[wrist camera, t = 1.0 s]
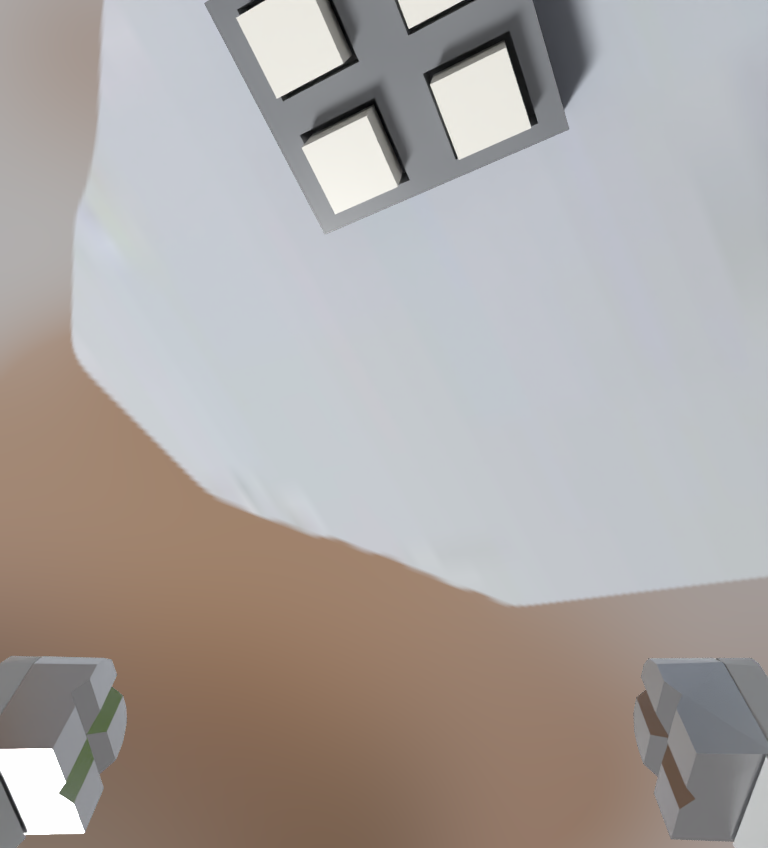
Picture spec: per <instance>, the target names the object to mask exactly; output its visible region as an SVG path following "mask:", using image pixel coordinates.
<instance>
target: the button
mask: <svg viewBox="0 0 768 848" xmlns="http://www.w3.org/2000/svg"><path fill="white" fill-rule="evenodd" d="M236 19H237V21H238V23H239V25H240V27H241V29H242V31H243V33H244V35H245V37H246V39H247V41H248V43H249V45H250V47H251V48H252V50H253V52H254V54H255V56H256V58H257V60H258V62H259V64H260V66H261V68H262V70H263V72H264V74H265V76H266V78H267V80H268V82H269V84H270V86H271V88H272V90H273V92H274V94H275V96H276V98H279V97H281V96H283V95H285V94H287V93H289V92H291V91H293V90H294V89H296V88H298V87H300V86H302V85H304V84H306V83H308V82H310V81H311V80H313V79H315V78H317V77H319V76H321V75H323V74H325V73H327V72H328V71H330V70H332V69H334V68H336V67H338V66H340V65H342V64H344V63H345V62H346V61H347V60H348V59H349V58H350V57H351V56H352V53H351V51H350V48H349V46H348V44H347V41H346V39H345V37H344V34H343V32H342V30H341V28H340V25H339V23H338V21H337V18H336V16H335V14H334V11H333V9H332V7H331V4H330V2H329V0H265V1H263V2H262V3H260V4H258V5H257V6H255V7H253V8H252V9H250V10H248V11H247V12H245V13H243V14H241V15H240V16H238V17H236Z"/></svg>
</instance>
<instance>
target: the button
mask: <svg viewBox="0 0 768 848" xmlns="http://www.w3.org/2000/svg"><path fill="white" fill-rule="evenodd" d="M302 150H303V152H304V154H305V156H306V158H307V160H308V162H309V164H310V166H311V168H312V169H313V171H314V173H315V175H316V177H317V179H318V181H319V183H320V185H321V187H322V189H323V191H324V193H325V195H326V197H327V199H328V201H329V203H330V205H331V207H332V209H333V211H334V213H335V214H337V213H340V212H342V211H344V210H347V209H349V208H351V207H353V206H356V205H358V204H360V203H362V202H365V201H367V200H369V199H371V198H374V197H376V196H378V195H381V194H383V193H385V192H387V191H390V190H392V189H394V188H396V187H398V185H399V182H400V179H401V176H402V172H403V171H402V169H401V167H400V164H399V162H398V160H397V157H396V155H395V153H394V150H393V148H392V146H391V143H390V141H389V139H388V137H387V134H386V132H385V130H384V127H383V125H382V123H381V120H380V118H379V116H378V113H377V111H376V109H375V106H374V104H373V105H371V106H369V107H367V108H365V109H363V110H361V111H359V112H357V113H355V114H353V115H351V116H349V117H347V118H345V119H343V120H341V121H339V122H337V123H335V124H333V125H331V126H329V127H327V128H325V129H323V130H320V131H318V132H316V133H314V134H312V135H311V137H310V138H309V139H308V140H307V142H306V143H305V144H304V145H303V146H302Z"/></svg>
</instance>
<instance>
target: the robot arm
mask: <svg viewBox="0 0 768 848" xmlns="http://www.w3.org/2000/svg"><path fill="white" fill-rule="evenodd" d="M116 676H117V674H116V671H115V668H114V665H113V663H112V660H111V659H106V658H81V657H48V656H43V657H30V656H29V657H28V656H10V657H9V658H7V659H6V660H4V661H3V662H1V663H0V848H16V847H17V846H18V845H19V844H20V843H21V842H22V841H23V840H24V839H25V838H26V836H25V834H58V833H60V834H61V833H85V831H86V828H87V826H88V824H89V821H90V819H91V817H92V814H93V812H94V810H95V807H96V805H97V803H98V800H99V798H100V796H101V794H102V791H103V784H102V781H101V778H100V775H99V774H100V773H101V772H102V771H104V770H105V769H106V768H107V767H108V766H109V765H110V764H112V763H113V762H114V761H115V760H116V758H117V755H118V753H119V751H120V748H121V745H122V743H123V739H124V734H125V728H126V723H127V717H126V705H125V701H124V697H123V695H122V694H120V693H119V692H118V691H117V690H115V689H114V688H113V687H112V684H113V682H114V680H115V678H116ZM641 678H642V680H643V683H644V685H645V688H646V690H645V691H644V692H643V693H641V694H640V695H639V696H638V697H637V698H636V703H635V708H634V732H635V737H636V741H637V746H638V749H639V752H640V755H641V758H642V761H643V764H644V765H645V766H647V767H648V768H649V769H650V770H651V771H652V772H653V773H654V774H656V775H657V777H658V779H657V783H656V787H655V791H654V794H655V797H656V800H657V803H658V805H659V808H660V811H661V813H662V816H663V819H664V822H665V824H666V827H667V830H668V833H669V835H670V838H671V839H681V840H705V841H733V842H734V843H733V846H734V847H735V848H768V677H767V675H766V674H765V672H764V671H763V669H762V668H761V666H760V664H759V663H757V662H756V661H755V660H754V659H752V658H717V659H714V658H659V659H658V658H657V659H648V660H647V661H646V663H645V664H644V666H643V671H642V675H641Z"/></svg>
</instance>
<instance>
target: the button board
mask: <svg viewBox="0 0 768 848" xmlns="http://www.w3.org/2000/svg"><path fill="white" fill-rule="evenodd" d="M263 1H265V0H209V1H207V2H206V3H204V4H205V6H206V8H207V9H208V11H209V13H210V15H211V17H212V19H213V21H214V23H215V25H216V27H217V29H218V31H219V32H220V34H221V36H222V38H223V40H224V42H225V44H226V46H227V48H228V50H229V52H230V54H231V55H232V57H233V59H234V61H235V63H236V65H237V67H238V69H239V71H240V73H241V75H242V77H243V78H244V80H245V82H246V84H247V86H248V88H249V90H250V92H251V94H252V96H253V98H254V100H255V101H256V103H257V105H258V107H259V109H260V111H261V113H262V115H263V117H264V119H265V121H266V123H267V124H268V126H269V128H270V130H271V132H272V134H273V136H274V138H275V140H276V142H277V144H278V146H279V147H280V149H281V151H282V153H283V155H284V157H285V159H286V161H287V163H288V165H289V167H290V169H291V170H292V172H293V174H294V176H295V178H296V180H297V182H298V184H299V186H300V188H301V190H302V192H303V193H304V195H305V197H306V199H307V201H308V203H309V205H310V207H311V209H312V211H313V213H314V215H315V216H316V218H317V220H318V222H319V224H320V226H321V228H322V230H323V232H324V234H328V233H330V232H332V231H335V230H337V229H339V228H342V227H344V226H346V225H349V224H351V223H353V222H356V221H358V220H360V219H363V218H365V217H367V216H370V215H372V214H374V213H377V212H379V211H381V210H383V209H386V208H388V207H390V206H393V205H395V204H397V203H400V202H402V201H404V200H407V199H409V198H411V197H414V196H416V195H418V194H421V193H423V192H425V191H428V190H430V189H432V188H434V187H437V186H439V185H441V184H444V183H446V182H448V181H451V180H453V179H455V178H458V177H460V176H462V175H465V174H467V173H469V172H472V171H474V170H476V169H479V168H481V167H483V166H485V165H488V164H490V163H492V162H495V161H497V160H499V159H502V158H504V157H506V156H509V155H511V154H513V153H516V152H518V151H520V150H523V149H525V148H527V147H530V146H532V145H534V144H537V143H539V142H541V141H543V140H546V139H548V138H550V137H553V136H555V135H557V134H560V133H562V132H564V131H567V130H569V126H568V123H567V119H566V116H565V112H564V109H563V105H562V102H561V98H560V95H559V91H558V88H557V84H556V81H555V77H554V74H553V70H552V67H551V63H550V60H549V56H548V53H547V49H546V46H545V42H544V39H543V35H542V32H541V28H540V25H539V21H538V18H537V14H536V11H535V7H534V4H533V0H463V1H461V2H459V3H457V4H455V5H453V6H452V7H450V8H448V9H446V10H444V11H442V12H440V13H438V14H436V15H435V16H433V17H431V18H429V19H427V20H425V21H423V22H421V23H419V24H417V25H416V26H414V27H412V28H410V29H409V28H408V26H407V23H406V20H405V18H404V15H403V12H402V10H401V7H400V5H399V2H398V0H329V2H330V4H331V7H332V9H333V11H334V14H335V16H336V18H337V21H338V23H339V25H340V28H341V30H342V32H343V34H344V37H345V39H346V41H347V44H348V46H349V48H350V51H351V53H352V56H351V57H350V58H349V59H348V60H347V61H346V62H345V63H344V64H342V65H340V66H338V67H336V68H334V69H332V70H330V71H328V72H327V73H325V74H323V75H321V76H319V77H317V78H315V79H313V80H311V81H310V82H308V83H306V84H304V85H302V86H300V87H298V88H296V89H294V90H293V91H291V92H289V93H287V94H285V95H283V96H281V97H279V98H276V96H275V94H274V92H273V90H272V88H271V86H270V84H269V82H268V80H267V78H266V76H265V74H264V72H263V70H262V68H261V66H260V64H259V62H258V60H257V58H256V56H255V54H254V52H253V50H252V48H251V47H250V45H249V43H248V41H247V39H246V37H245V35H244V33H243V31H242V29H241V27H240V25H239V23H238V21H237V19H236V17H238V16H240V15H241V14H243V13H245V12H247V11H248V10H250V9H252V8H253V7H255V6H257V5H258V4H260V3H262V2H263ZM502 40H505V44H506V47H507V50H508V53H509V56H510V60H511V63H512V66H513V69H514V72H515V75H516V79H517V82H518V85H519V88H520V91H521V95H522V98H523V101H524V104H525V107H526V110H527V114H528V117H529V121H530V125H531V128H530V129H528V130H526V131H524V132H521V133H519V134H517V135H514V136H512V137H510V138H508V139H505V140H503V141H501V142H499V143H496V144H494V145H492V146H489V147H487V148H485V149H483V150H480V151H478V152H476V153H474V154H471V155H469V156H467V157H465V158H462V159H460V160H459V159H458V157H457V154H456V151H455V149H454V146H453V143H452V141H451V138H450V136H449V133H448V130H447V128H446V125H445V123H444V120H443V117H442V115H441V112H440V109H439V107H438V104H437V102H436V99H435V96H434V94H433V91H432V88H431V86H430V83H431V80H432V77H433V75H434V74H436V73H438V72H440V71H442V70H444V69H446V68H448V67H450V66H452V65H454V64H456V63H458V62H460V61H462V60H464V59H466V58H468V57H470V56H472V55H474V54H476V53H478V52H480V51H482V50H484V49H486V48H488V47H490V46H492V45H494V44H496V43H498V42H500V41H502ZM373 104H374V106H375V109H376V111H377V113H378V116H379V118H380V120H381V123H382V125H383V127H384V130H385V132H386V134H387V137H388V139H389V141H390V143H391V146H392V148H393V150H394V153H395V155H396V157H397V160H398V162H399V164H400V167H401V169H402V171H403V172H402V176H401V179H400V182H399V185H398V187H396V188H394V189H392V190H390V191H387V192H385V193H383V194H381V195H378V196H376V197H374V198H371V199H369V200H367V201H365V202H362V203H360V204H358V205H356V206H353V207H351V208H349V209H347V210H344V211H342V212H340V213H337V214H335V213H334V211H333V209H332V207H331V205H330V203H329V201H328V199H327V197H326V195H325V193H324V191H323V189H322V187H321V185H320V183H319V181H318V179H317V177H316V175H315V173H314V171H313V169H312V168H311V166H310V164H309V162H308V160H307V158H306V156H305V154H304V152H303V150H302V146H303V145H304V144H305V143H306V142H307V140H308V139H309V138H310V137H311V135H312V134H314V133H316V132H318V131H320V130H323V129H325V128H327V127H329V126H331V125H333V124H335V123H337V122H339V121H341V120H343V119H345V118H347V117H349V116H351V115H353V114H355V113H357V112H359V111H361V110H363V109H365V108H367V107H369V106H371V105H373Z"/></svg>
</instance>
